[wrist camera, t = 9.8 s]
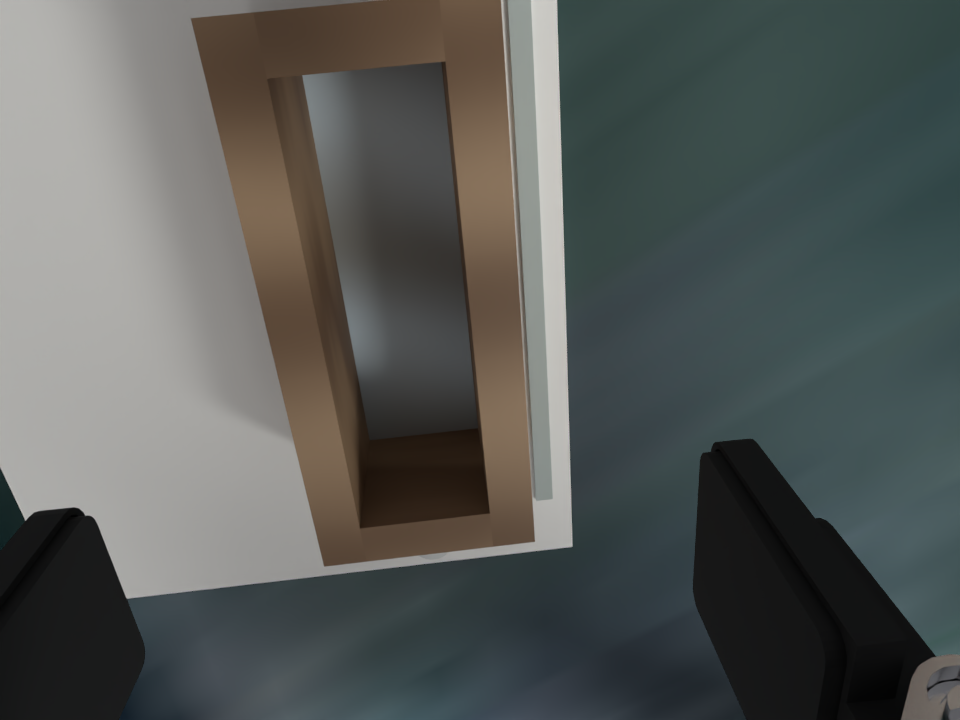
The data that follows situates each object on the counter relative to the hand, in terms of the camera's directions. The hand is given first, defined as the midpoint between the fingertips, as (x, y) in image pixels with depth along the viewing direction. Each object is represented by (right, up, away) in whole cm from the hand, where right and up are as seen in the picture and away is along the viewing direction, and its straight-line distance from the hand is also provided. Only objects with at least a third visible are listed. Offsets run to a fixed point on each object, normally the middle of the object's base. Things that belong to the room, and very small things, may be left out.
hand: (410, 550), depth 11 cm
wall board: (-6, +5, +11) cm, 14 cm away
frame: (-1, +6, +10) cm, 12 cm away
